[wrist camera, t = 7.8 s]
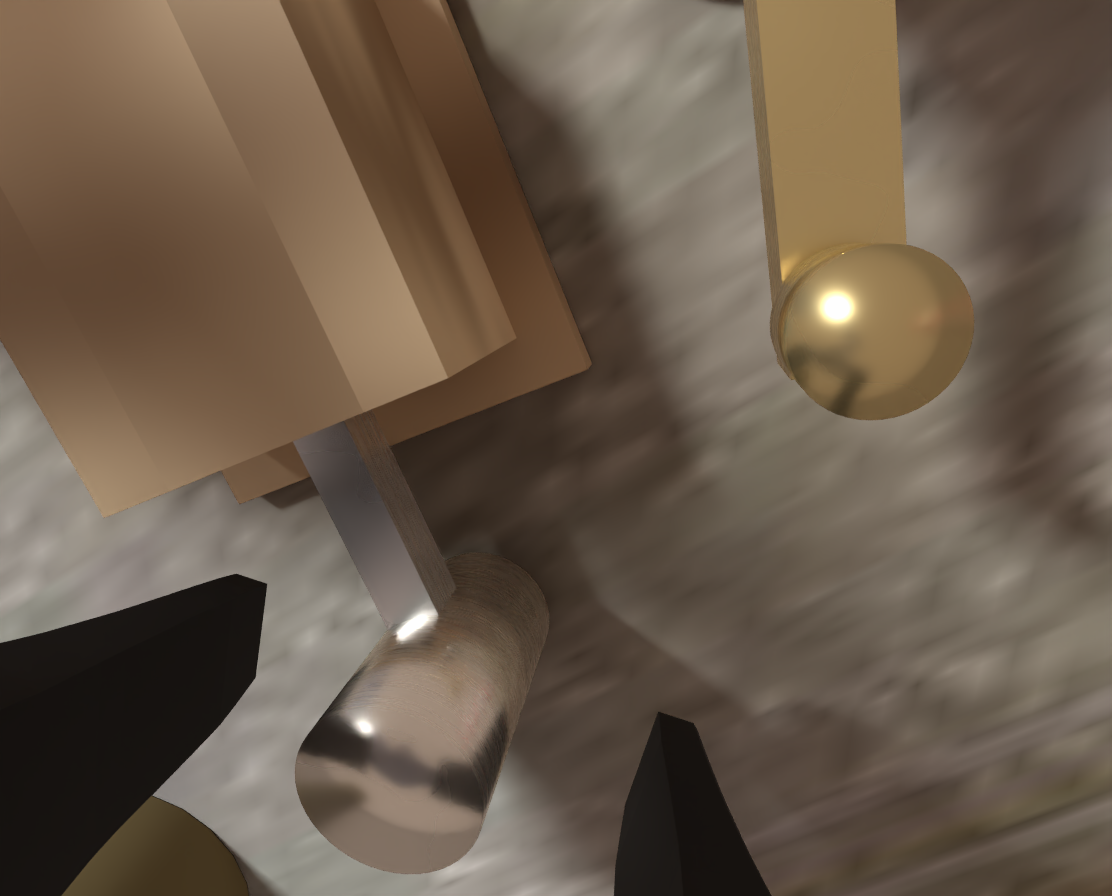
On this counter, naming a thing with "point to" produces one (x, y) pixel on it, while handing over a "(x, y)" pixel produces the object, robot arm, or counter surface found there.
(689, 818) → the robot arm
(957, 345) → the lever
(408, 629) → the hook rod
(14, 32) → the block
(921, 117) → the counter surface
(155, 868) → the olive tall rounded piece
